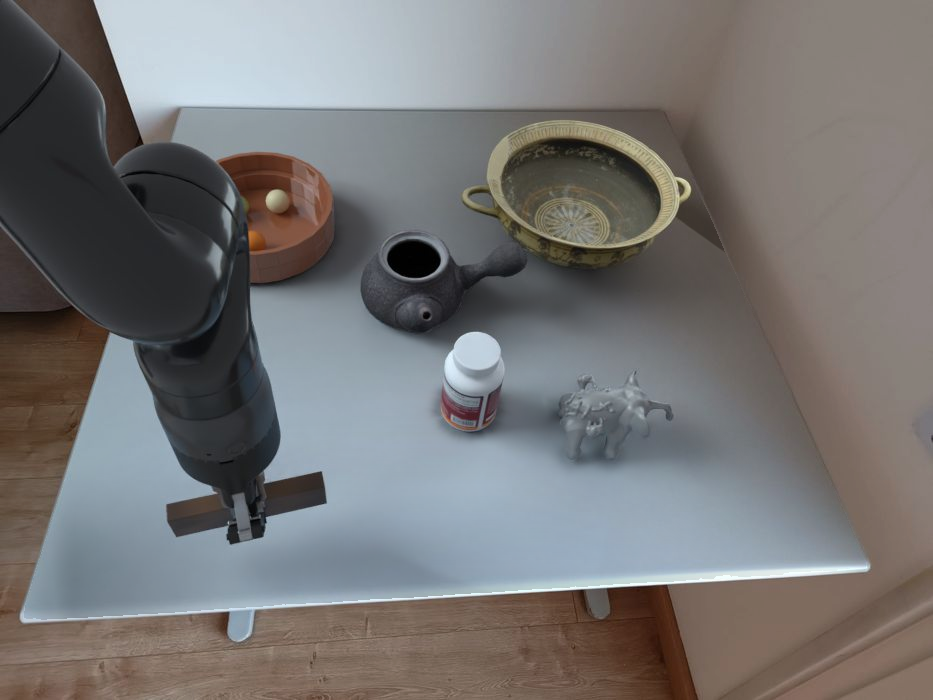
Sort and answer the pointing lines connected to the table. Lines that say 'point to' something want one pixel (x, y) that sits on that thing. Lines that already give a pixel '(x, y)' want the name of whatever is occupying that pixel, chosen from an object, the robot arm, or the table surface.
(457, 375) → the pill bottle
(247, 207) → the ball olive
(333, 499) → the table surface
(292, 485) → the stick
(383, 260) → the teapot
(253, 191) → the bowl
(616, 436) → the gray elephant figurine
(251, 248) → the ball orange
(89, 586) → the table surface
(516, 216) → the ceramic bowl
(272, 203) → the ball cream
